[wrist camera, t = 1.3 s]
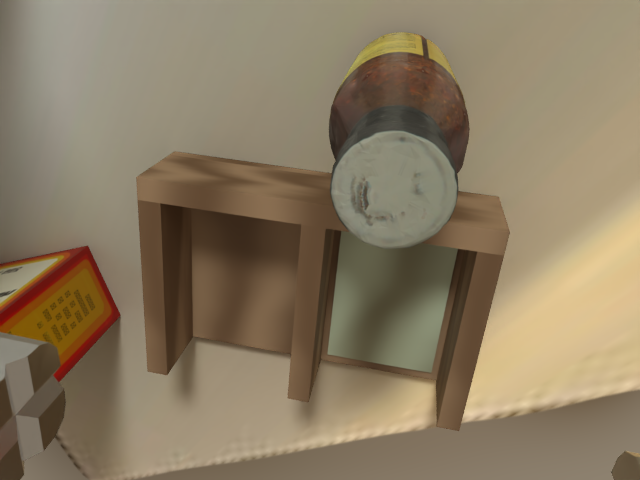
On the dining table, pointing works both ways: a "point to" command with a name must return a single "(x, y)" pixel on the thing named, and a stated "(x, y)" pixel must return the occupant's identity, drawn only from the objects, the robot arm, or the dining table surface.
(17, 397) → the robot arm
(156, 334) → the wooden divided tray
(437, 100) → the sauce bottle
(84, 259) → the baking soda box
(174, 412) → the dining table surface
